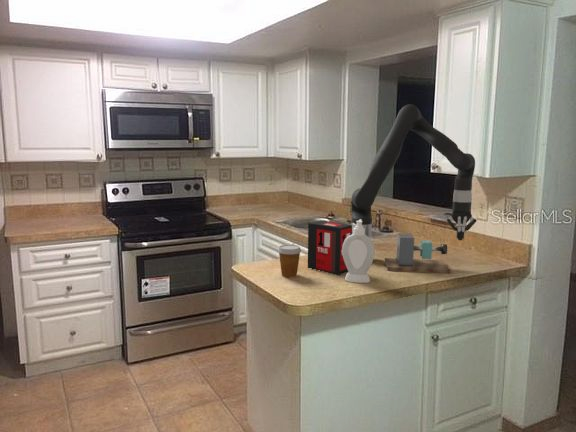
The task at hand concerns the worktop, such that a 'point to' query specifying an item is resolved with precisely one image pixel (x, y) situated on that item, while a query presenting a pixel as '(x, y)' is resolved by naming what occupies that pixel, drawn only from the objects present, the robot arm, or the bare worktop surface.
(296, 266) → the disposable coffee cup
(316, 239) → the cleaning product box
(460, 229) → the robot arm
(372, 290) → the worktop surface
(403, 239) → the housing
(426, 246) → the block
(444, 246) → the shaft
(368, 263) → the soap bottle
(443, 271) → the base board
